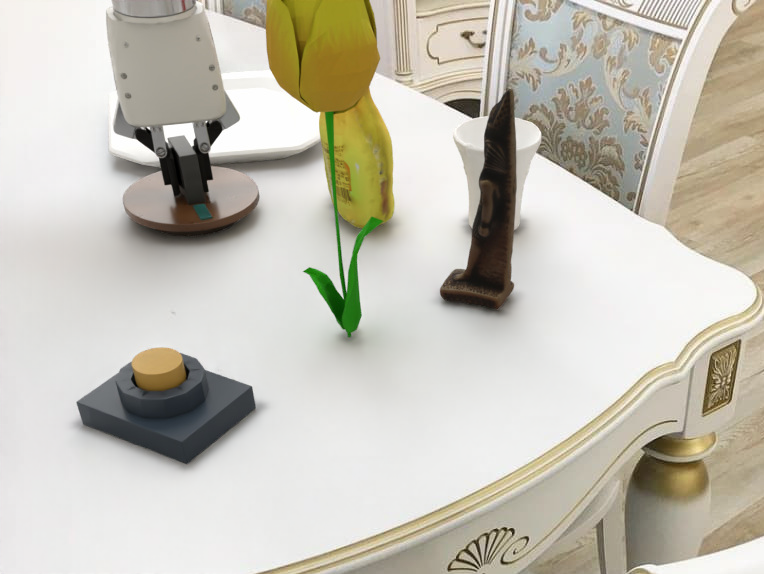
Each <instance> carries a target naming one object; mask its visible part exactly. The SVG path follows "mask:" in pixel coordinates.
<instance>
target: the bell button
mask: <svg viewBox="0 0 764 574" xmlns="http://www.w3.org/2000/svg"><path fill="white" fill-rule="evenodd" d="M180 353H181V352H179V351H178V350H176V349H174V348H171V347H161V346H159V347H152V348H148V349H145V350H142V351H141V352H139V353H137V354H136V355H135V356H134V357H133V358H132V360H131V361H132V364H131V365H132V369H133V372H134V376H135V380H136V384H137V386H138V387H139V388H140V389H143V390H146V391H165V390H168V389H172V388H175V387H178V386H179V385H181V384H182V383H183V382H185V380H186V371H185V367H184V363H183V358H182V355H181V354H180Z"/></svg>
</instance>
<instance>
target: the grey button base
mask: <svg viewBox="0 0 764 574" xmlns="http://www.w3.org/2000/svg"><path fill="white" fill-rule="evenodd" d="M179 353H180V354H181V355H182V358H183V363H184V367H185V371H186V380H185V382H183V383H182V384H181V385H179V386H178V387H175V388H172V389H168V390H165V391H146V390H143V389H140V388H139V387H138V386H137V384H136V380H135V376H134V372H133V369H132V365H131V364H132V360H131V361H130V362H128V363H127V364H126V365H124V366H122V367H121V368H120V369H119V371H118V372H117V373H116V374H114V375H113V376H111V377H110V378H108V379H107V380H105V381H104V382H102V384H100V385H98V386H97V387H96V388H94V389H93V390H91V391H89V392H88V393H87V394H86V395H84V396H83V397H81V398H80V399H78V400H77V401H76V406H77V410H78V413H79V416H80V419H81V422H82V424H83V425H84V426H87V427H89V428H92V429H95V430H97V431H100V432H102V433H104V434H107V435H109V436H112V437H115V438H118V439H120V440H123V441H126V442H129V443H131V444H133V445H135V446H138V447H141V448H143V449H147V450H149V451H152V452H154V453H157V454H159V455H162V456H165V457H168V458H170V459H172V460H175V461H177V462H180V463H183V464H185V465H188V464H189V463H191V462H192V461H193V460H194V459H195V458H196V457H198V456H199V455H200V454H201V453H203V452H204V451H205V450H207V449H208V448H209V447H210V446H212V445H213V444H214V443H216V441H218V440H219V439H220V438H221V437H222V436H224V435H225V434H226V433H228V432H229V431H230V430H231V429H232V428H233V427H235V426H236V425H237V424H239V423H240V422H241V421H242V420H243V419H245V418H246V417H247V416H248V415H249V414H250V413H252V412H253V411H254V410H255V409H256V408H257V406H256V401H255V395H254V390H253V386H252V385H249V384H247V383H244V382H241V381H239V380H236V379H233V378H230V377H227V376H224V375H221V374H218V373H216V372H212V371H210V370H206V368H205V367H204V366H203V364H202V363H201V362H200V361H199V359H197V357H194V356H190V355H188V354H185V353H183V352H179Z"/></svg>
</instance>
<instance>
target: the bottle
mask: <svg viewBox="0 0 764 574" xmlns="http://www.w3.org/2000/svg"><path fill="white" fill-rule="evenodd" d="M319 131H320V139H321V142H320V144H321V151H322V157H323V163H324V171H325V172H324V173H325V177H326V183H327V187H328V188H327V189H328V192H329V196H330V200H331V203H332V205H333V206H334V200H333V189H332V178H331V167H330V157H329V148H328V138H327V128H326V119H325V112H320V117H319ZM393 152H394V149H393V142H392V137H391V135H390V132H389V129H388V126H387V124H386V122H385V120H384V119H383V116H382V114H381V113H380V110H379V108H378V107H377V105H376V104H375V102H374V99H373V97H372V94H371V89H370V87H369V88H368V90H367V91H366V93H365V95H364V96H363V97H361V99H360V100H359V102H358V103H357V105H356V107H354V108H352V109H350V110H348V111H346V112H345V113H340V114H334V158H335V177H336V196H337V210H338V214H339V215H340V216H341V217H342V219H343V220H345V222H348V223H349V224H350V225H351V226H353V227H355V228H357V229H358V228H359V229H361V230H362V229H363V227H364V226H365V225H366V224H367V222H368V221H369V219H370V218H371V217H374V218H377V219H380V220H382V221H383V222H382V223H381V224H380V225H378V226H377V227H379V226H381V225H384V224H385V223H387V222H389V221H390V220H391V219H392V218H393V216H394V213H395V195H394V190H393V188H394V187H393V185H394V154H393Z"/></svg>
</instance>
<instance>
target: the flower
mask: <svg viewBox="0 0 764 574" xmlns="http://www.w3.org/2000/svg"><path fill="white" fill-rule="evenodd" d="M265 13H266V14H265V45H266V55H267V62H268V67H269V70H271V72H272V74H273V76H274V78H275V79H276V81H277V83H278V84H279V86H280V87H281V88H282V89H284V90H285V91H286V92H287V93H288V94H290V95H291V96H292V97H293V98H295V99H296V100H298V101H299V102H301V103H302V104H304V105H305V106H306V107H308V108H309V109H311V110H312V111H314V112H316V113H318V112H325V119H326V128H327V138H328V148H329V157H330V167H331V178H332V189H333V200H334V205H333V211H334V220H335V221H334V222H335V235H336V249H337V259H338V260H337V261H338V272H339V280H340V285H341V291H342V292H341V293H342V295H341V293H339V291H338V290H337V288H336V286H335V284H334V283H333V281H332V280H331V278H330V277H329V275H328V274H326V273H325V272H323V271H321V270H320V269H317V268H314V267H308V268H306V269H304V270H303V271H302V273H305V274H307V275H309V277H310V279H311V280H312V282H313V284H314V285H315V287H316V289H317V291H318V293H319V294H320V295H321V297H322V298H323V300H324V301H325V303H326V305H327V306H328V308H329V309H330V311H331V313H332V314H333V316H334V319H335V321H336V323H337V324H338V325H339V326H340V328H341V329H342V330H344V331H345V332H346V334H347V338H352V333H353V332H356V331H357V329H358V328H359V325H360V322H361V320H362V317H363V314H362V305H361V297H360V295H361V294H360V284H359V283H360V282H359V271H358V255H359V252H360V250H361V248H362V244H363V242H364V239H365V237H367V236H368V235H369V234H370V233H372V232H373V231H374V230H375V229H377V227H379V226H381V225H382V224H381V223H382V222H383V221H382V220H380V219H377V218H374V217H371V218H370V219H369V221H368V222H367V224H366V225H365V226H364V227H363V229H362V228H361V229H360V231H359V232H358V233H357V235H356V237H355V241H354V244H353V249H352V254H351V258H350V262H349V265H348V266H349V267H348V270H347V284H346V279H345V278H346V277H345V270H344V264H343V254H342V244H341V243H342V241H341V232H340V223H339V222H340V221H339V212H338V210H337V196H336V177H335V158H334V114H340V113H345V112H346V111H348V110H350V109H352V108H354V107H356V105H357V103H358V102H359V100H360V99H361V97H363V96H364V95H365V93H366V91H367V90H368V88H370V86H371V84H372V81H373V79H374V77H375V74H376V71H377V68H378V66H379V64H380V61H381V55H380V52H379V49H378V35H377V33H378V31H377V25H376V18H375V12H374V10H373V6H372V3H371V1H370V0H266V12H265ZM380 224H381V225H380ZM378 225H379V226H378Z"/></svg>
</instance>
